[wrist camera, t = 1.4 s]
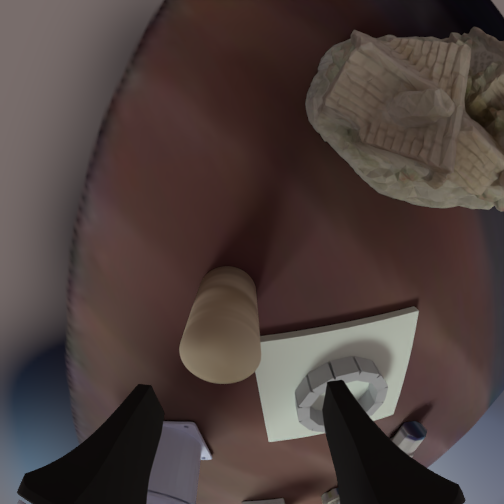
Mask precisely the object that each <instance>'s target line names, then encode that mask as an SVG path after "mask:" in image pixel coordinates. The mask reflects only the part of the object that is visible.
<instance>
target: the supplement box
mask: <svg viewBox="0 0 504 504" xmlns="http://www.w3.org/2000/svg"><path fill="white" fill-rule="evenodd" d="M242 504H285V502H284V498H280V499H271V500H260V501H244V502H242Z"/></svg>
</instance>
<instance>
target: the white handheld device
mask: <svg viewBox="0 0 504 504" xmlns="http://www.w3.org/2000/svg"><path fill="white" fill-rule="evenodd" d="M426 433H427V430H426V429H425V427H424V426H423V425H422V424H421V423H418V422H416V421H412V422H404V424H403V425H402V426H401V428H400V429H399V430H398V432H397V433H396V434H395V436H394V437H393V438H390V440H391V441H392V442H394V443H395V444H396V445H397V446H398V447H399V448H400V449H401V450H403V451H404V452H405V453H406V454H408V455H409V456H410V457H413V455H414V452H415V449H416V448H417V447H418V446H419V444H420V443H421V442H422V441H423V439H424V438H425V437H426ZM321 497H322V503H323V504H340V498H339V489H338V488H335V489H332V490H331V491H329V492H328V493H327V492H325V493H324V494H323V495H322V496H321Z"/></svg>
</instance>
